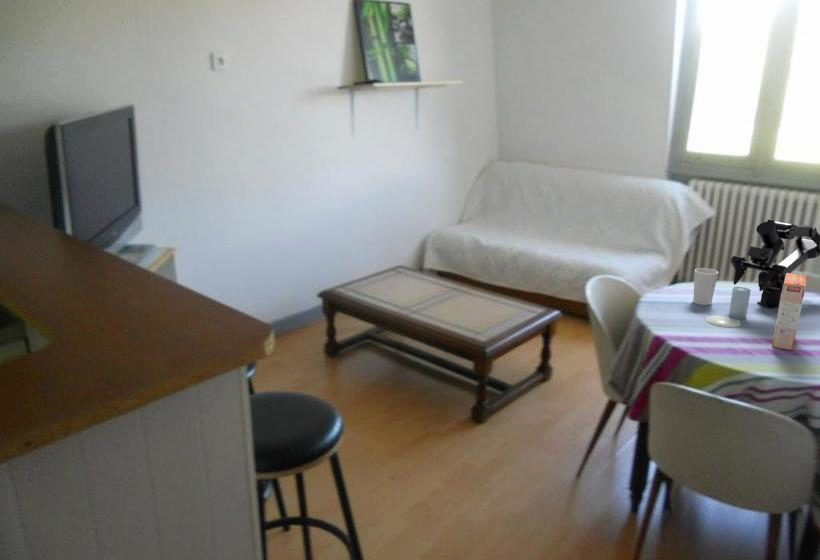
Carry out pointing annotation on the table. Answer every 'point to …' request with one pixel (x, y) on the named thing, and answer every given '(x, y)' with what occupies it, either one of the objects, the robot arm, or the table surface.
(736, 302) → the grey cylinder
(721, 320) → the mat
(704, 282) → the cup
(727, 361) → the table surface
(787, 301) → the cracker box
